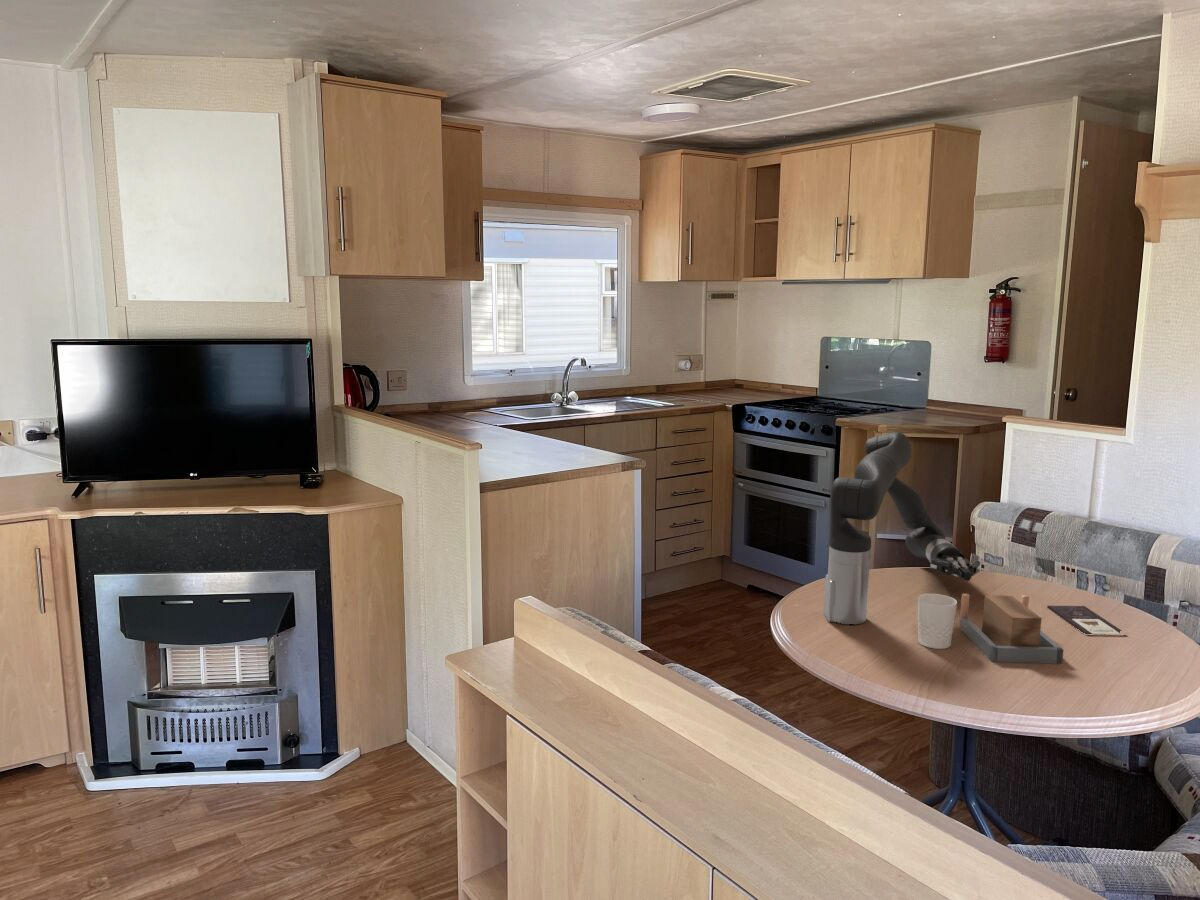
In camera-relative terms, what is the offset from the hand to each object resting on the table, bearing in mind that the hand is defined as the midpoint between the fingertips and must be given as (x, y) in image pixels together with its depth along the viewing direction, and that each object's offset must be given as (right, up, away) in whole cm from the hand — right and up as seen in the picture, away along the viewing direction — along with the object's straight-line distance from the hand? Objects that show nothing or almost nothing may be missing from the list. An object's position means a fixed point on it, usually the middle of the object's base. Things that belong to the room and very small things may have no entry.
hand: (967, 576), depth 221 cm
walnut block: (-1, -11, -25) cm, 28 cm away
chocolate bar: (+23, -10, -10) cm, 27 cm away
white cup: (-17, -11, -25) cm, 32 cm away
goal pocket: (-1, -11, -24) cm, 27 cm away
